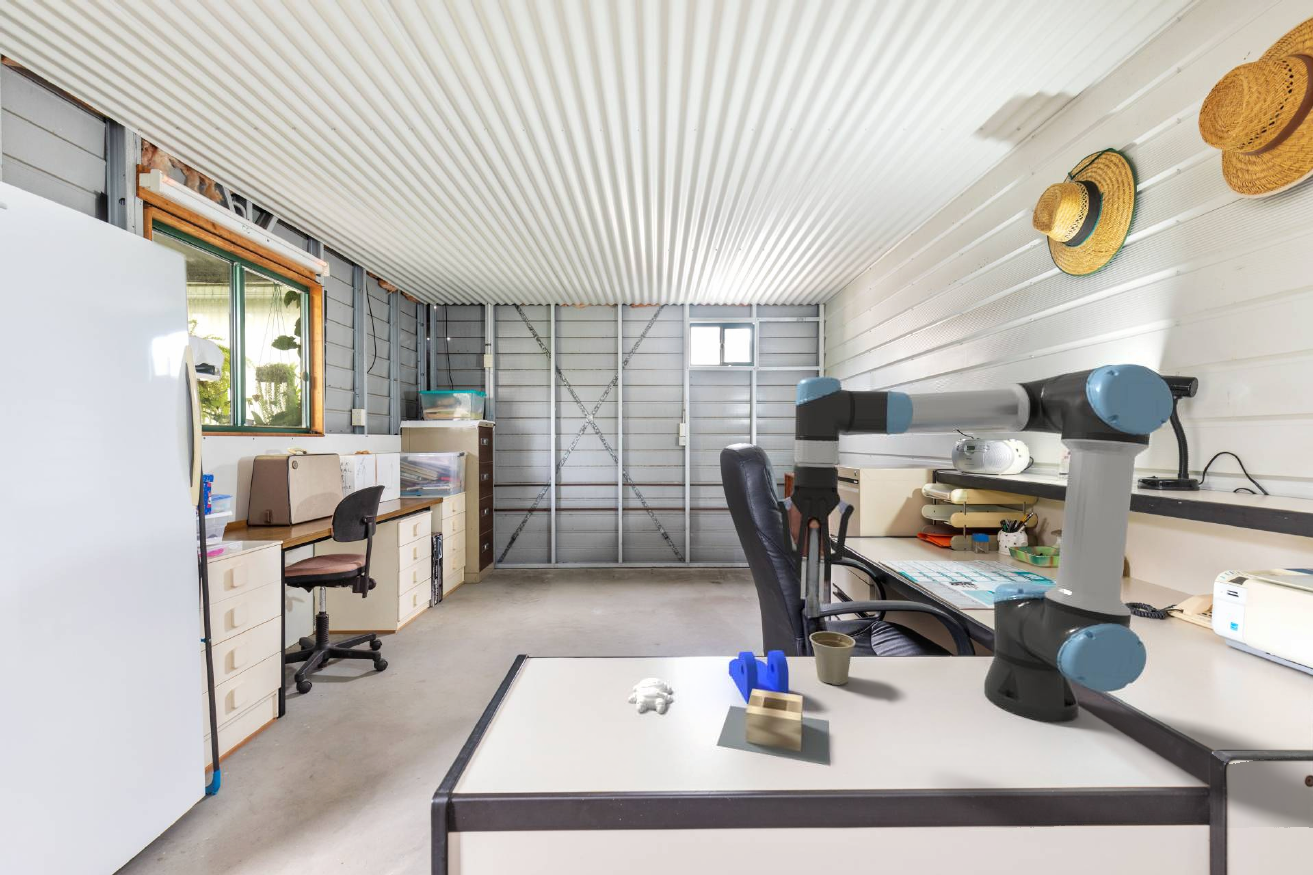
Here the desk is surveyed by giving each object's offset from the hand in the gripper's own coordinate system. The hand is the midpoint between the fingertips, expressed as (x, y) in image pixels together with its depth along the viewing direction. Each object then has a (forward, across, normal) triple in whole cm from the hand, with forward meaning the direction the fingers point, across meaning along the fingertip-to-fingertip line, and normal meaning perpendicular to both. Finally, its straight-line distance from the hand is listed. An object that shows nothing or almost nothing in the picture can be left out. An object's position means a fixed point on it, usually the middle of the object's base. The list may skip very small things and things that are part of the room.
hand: (812, 597), depth 94 cm
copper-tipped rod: (+3, 0, 0) cm, 3 cm away
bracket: (+24, +11, -16) cm, 31 cm away
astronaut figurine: (+25, +30, -3) cm, 39 cm away
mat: (+24, +6, +3) cm, 25 cm away
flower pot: (+24, -4, -23) cm, 34 cm away
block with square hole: (+23, +6, +3) cm, 24 cm away
